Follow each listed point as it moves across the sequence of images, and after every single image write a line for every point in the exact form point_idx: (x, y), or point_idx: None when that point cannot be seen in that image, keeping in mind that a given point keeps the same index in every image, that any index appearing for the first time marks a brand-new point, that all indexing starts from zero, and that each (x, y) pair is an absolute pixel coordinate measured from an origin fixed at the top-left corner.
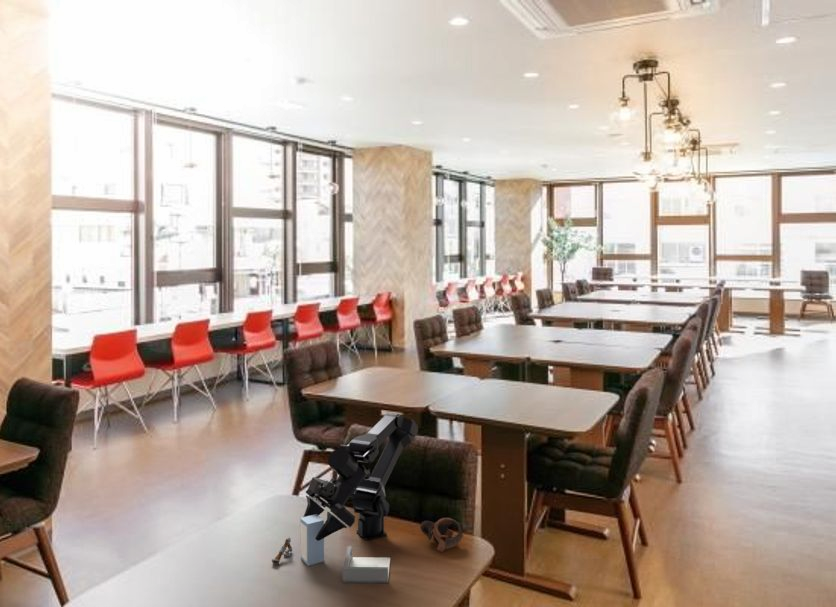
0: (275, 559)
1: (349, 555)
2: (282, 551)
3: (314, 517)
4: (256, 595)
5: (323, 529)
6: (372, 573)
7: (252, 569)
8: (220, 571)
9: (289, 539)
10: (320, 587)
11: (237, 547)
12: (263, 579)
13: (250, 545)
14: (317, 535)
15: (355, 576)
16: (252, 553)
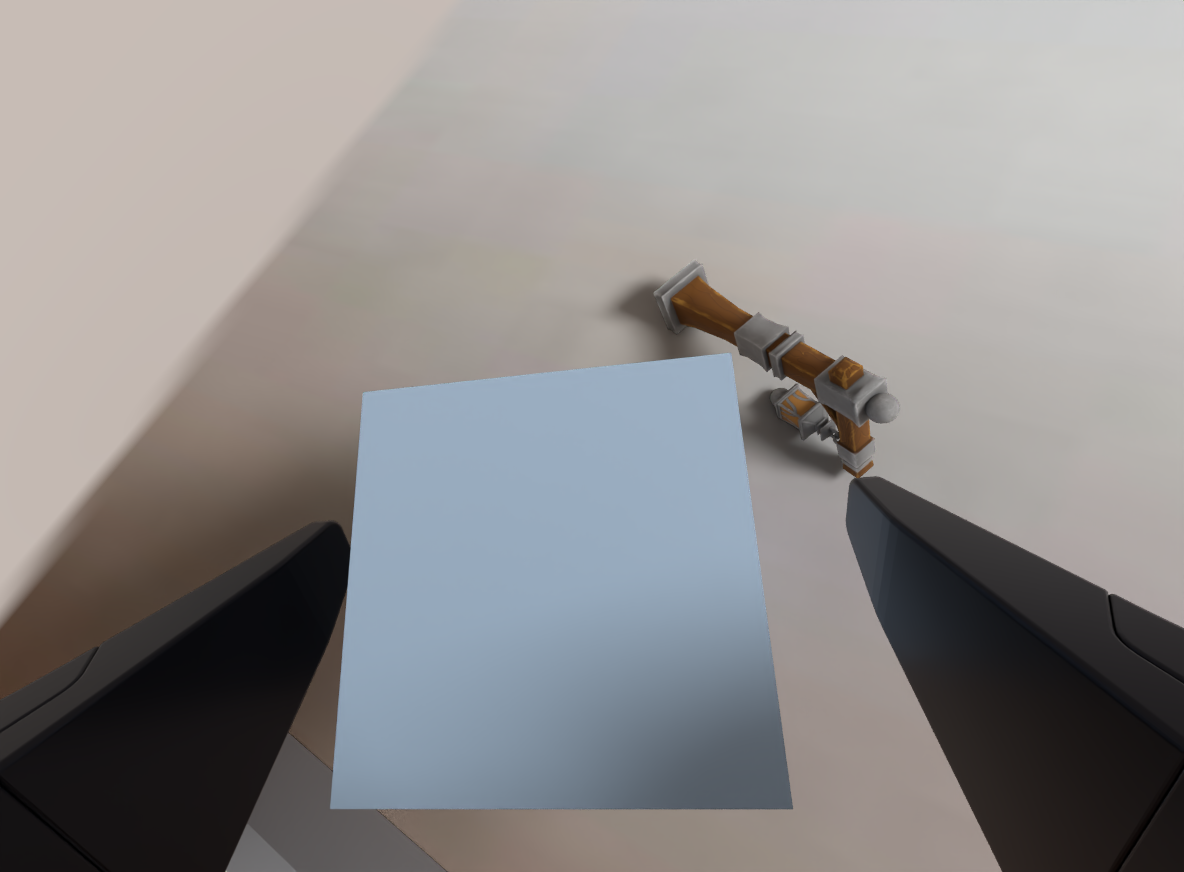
0: (679, 281)
1: (228, 868)
2: (739, 334)
3: (592, 658)
4: (390, 146)
5: (125, 630)
6: None
7: (697, 169)
8: (763, 13)
9: (849, 398)
10: (240, 484)
11: (1117, 125)
12: (534, 205)
13: (1126, 211)
14: (289, 544)
15: None
16: (956, 203)
